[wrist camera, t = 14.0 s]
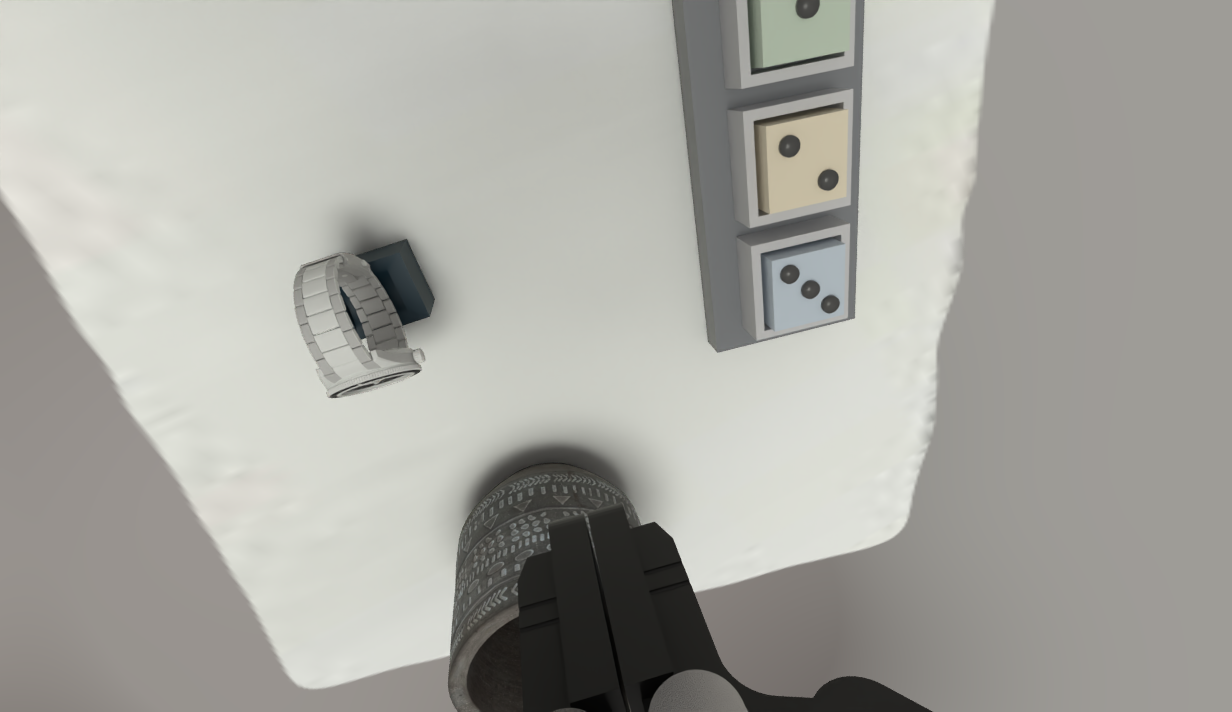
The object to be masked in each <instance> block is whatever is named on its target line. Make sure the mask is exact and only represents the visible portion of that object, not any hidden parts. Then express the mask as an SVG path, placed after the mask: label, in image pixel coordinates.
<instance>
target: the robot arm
mask: <svg viewBox="0 0 1232 712" xmlns="http://www.w3.org/2000/svg"><path fill="white" fill-rule="evenodd" d="M587 515H588V520H589V524H590V529H591V534H592V538H593V543H594V548H595V552H596V556H595V552H594V548H593V544H592V541H591V537H590V533H589V529H588V526H587V522H586V518H585V515H584V513H582V514H578V515H575V516H571V517H567V518H564V519H560V520H556V521H553V522H549V523H548V530H549V539H550V547H551V551H548V552H545V553H541V554H538V555H534V556H530V557H527V559H526V561H525V564H524V566H523V569H522V571H521V574H520V576H519V579H518V581H517V588H518V608H519V629H520V654H521V676H522V697H523V712H630V709H631V712H932V711H930V710H928V709H927V708H925V707H923V706H921V705H919V704H917V703H915V702H914V701H912V700H910V699H908V698H906V697H904V696H903V695H901V694H899V693H897V692H895V691H893V690H891V689H890V688H888V687H886V686H884V685H882V684H880V683H878V682H875V681H873V680H870V679H866V678H862V677H856V676H854V677H853V676H851V677H850V676H847V677H841V678H836V679H834V680H831V681H829V682H828V683H826V684H824V685H823V686H822V687H821V688H820V689H819V690H818V691H817V693H816V694H815V696H814V697H813V698H802V697H784V696H771V695H766V694H762V693H759V692H756V691H754V690H751V689H749V688H748V687H745V686H744V685H743V684H741V683H740V682H738V681H737V680H736V679H735V678H734V677H732V675H731V674H730V673H729V672H728V671H727V669H726V668H725V667H724V665H723V664H722V662H721V660H720V657H719V655H718V653H717V650H716V648H715V645H714V642H713V640H712V637H711V635H710V632H709V630H708V627H707V625H706V622H705V619H704V617H703V614H702V612H701V609H700V607H699V604H698V602H697V599H696V597H695V594H694V591H693V589H692V586H691V584H690V582H689V578H688V576H687V573H686V571H685V568H684V566H683V564H682V561H681V558H680V555H679V553H678V550H677V548H676V545H675V543H674V540H673V538H672V537H671V536H670V535H669V534H668V533H667V532H665V531H664V530H663V529H662V528H661V527H660V526H659V525H658V524H657V523H656V522H652V523H649V524H645V525H642V526H638V527H634V528H631V529H630V526H629V523H628V520H627V516H626V513H625V510H624V507H623V504H622V503H618V504H614V505H611V506H607V507H603V508H600V509H596V510H592V511H589V512H587ZM596 557H597V559H596ZM597 562H598V563H597ZM598 566H599V567H598ZM628 702H629V703H628ZM629 705H630V707H629Z"/></svg>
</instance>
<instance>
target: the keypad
mask: <svg viewBox="0 0 1232 712" xmlns="http://www.w3.org/2000/svg"><path fill="white" fill-rule="evenodd" d="M672 5H673V15H674V24H675V34H676V43H677V52H678V62H679V71H680V81H681V90H682V99H683V109H684V118H685V128H686V137H687V146H688V156H689V165H690V175H691V184H692V193H693V203H694V212H695V222H696V231H697V240H698V250H699V259H700V269H701V278H702V287H703V297H704V306H705V316H706V325H707V335H708V342H709V343H710V344H711V346H712V347H713V348H714V349H715V350H716V352H717V353H718V352H722V351H726V350H730V349H734V348H738V347H742V346H746V345H750V344H754V343H758V342H762V341H766V340H770V339H774V338H778V337H782V336H786V335H790V334H794V333H798V332H802V331H806V330H810V329H814V328H818V327H822V326H826V325H830V324H834V323H838V322H842V321H846V320H850V319H854V318H855V293H856V260H857V228H858V195H859V162H860V130H861V97H862V65H863V32H864V0H851V2H850V50H849V51H844V52H839V53H834V54H829V55H824V56H819V57H814V58H809V59H804V60H799V61H794V62H789V63H784V64H779V65H775V66H770V67H765V68H751V66H750V47H749V28H748V9H747V0H672ZM817 107H827V108H839V109H848V146H847V194H846V197H843V198H839V199H834V200H830V201H826V202H821V203H817V204H812V205H808V206H804V207H799V208H795V209H791V210H786V211H782V212H777V213H773V214H768V213H766V212H764V211H762V210H760V209H758V198H757V179H756V160H755V141H754V122H753V121H756V120H761V119H765V118H770V117H775V116H780V115H784V114H789V113H794V112H798V111H803V110H808V109H813V108H817ZM828 237H832V238H834V239H836V240H838V241H841V242H843V243H845V291H844V315H840V316H836V317H832V318H828V319H824V320H820V321H816V322H812V323H808V324H804V325H800V326H796V327H792V328H788V329H784V330H780V331H776V332H774V331H773V330H772V329H771V328H770V327H769V326H768V325H767V324H765V323H764V312H763V293H762V274H761V255H760V253H765V252H769V251H773V250H777V249H782V248H786V247H790V246H794V245H799V244H803V243H807V242H811V241H816V240H820V239H824V238H828Z"/></svg>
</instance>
